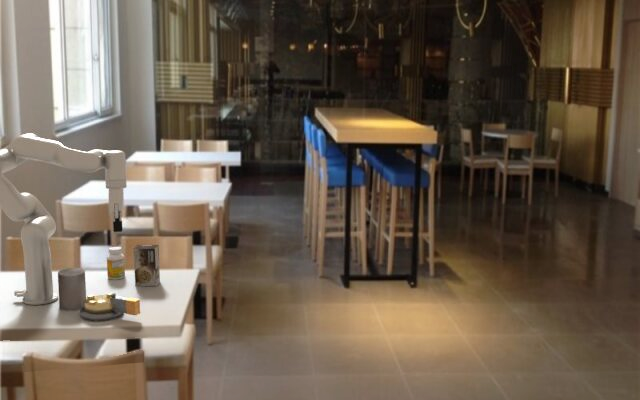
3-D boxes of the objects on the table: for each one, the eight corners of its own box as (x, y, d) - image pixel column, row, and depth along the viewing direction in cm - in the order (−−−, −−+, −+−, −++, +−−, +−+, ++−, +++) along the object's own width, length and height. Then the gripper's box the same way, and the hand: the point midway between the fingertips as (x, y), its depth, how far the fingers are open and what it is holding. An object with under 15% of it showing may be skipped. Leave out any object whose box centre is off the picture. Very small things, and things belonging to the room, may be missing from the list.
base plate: (78, 322, 249) (78, 316, 249) (82, 308, 264) (81, 302, 263) (122, 319, 253) (122, 313, 252) (124, 306, 267) (123, 299, 267)
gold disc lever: (77, 310, 255) (76, 294, 254) (99, 301, 266) (99, 285, 265) (126, 320, 246) (126, 303, 245) (148, 309, 257) (147, 293, 256)
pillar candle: (56, 305, 267) (53, 267, 264) (81, 300, 273) (79, 262, 270) (64, 312, 260) (62, 273, 257) (90, 307, 266) (88, 269, 263)
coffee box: (160, 281, 298) (159, 244, 295) (156, 286, 291) (155, 248, 288) (138, 281, 298) (137, 244, 295) (134, 286, 291) (133, 248, 288)
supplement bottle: (107, 275, 305) (106, 246, 303) (124, 274, 307) (123, 245, 305) (107, 280, 299) (106, 250, 296) (125, 279, 301) (124, 249, 298)
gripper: (106, 180, 273) (108, 227, 276) (104, 187, 258) (106, 236, 262) (127, 180, 274) (128, 226, 278) (125, 186, 260) (127, 235, 264)
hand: (118, 231), depth 270 cm, fingers closed
